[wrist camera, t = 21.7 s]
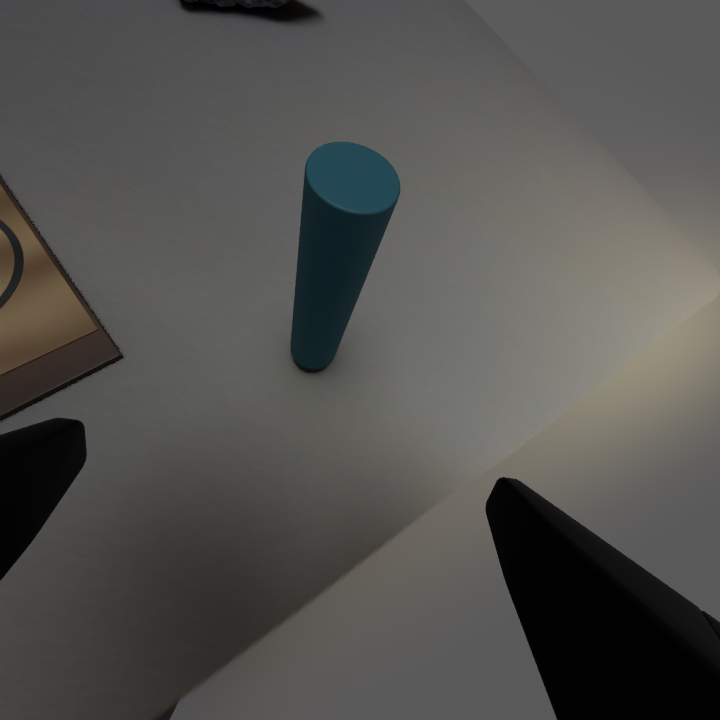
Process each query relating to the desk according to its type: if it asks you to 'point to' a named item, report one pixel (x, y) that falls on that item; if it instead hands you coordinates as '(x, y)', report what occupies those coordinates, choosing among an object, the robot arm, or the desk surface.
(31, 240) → the wooden board
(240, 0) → the mineral rock
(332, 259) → the cylinder
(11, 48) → the desk surface
